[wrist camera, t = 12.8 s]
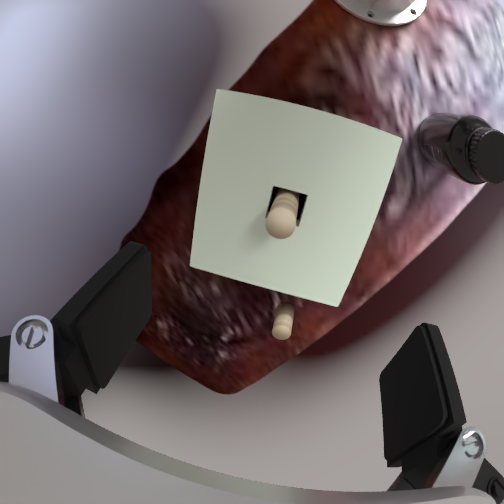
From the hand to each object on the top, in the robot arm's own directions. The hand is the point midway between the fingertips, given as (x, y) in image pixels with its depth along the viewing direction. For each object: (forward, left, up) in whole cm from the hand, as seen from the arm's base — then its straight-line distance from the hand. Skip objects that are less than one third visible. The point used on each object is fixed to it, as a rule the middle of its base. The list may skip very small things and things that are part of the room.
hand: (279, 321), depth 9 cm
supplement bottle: (-9, +15, -26) cm, 32 cm away
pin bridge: (+3, -1, -26) cm, 26 cm away
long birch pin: (+3, -1, -26) cm, 26 cm away
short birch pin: (+20, +3, -26) cm, 33 cm away
